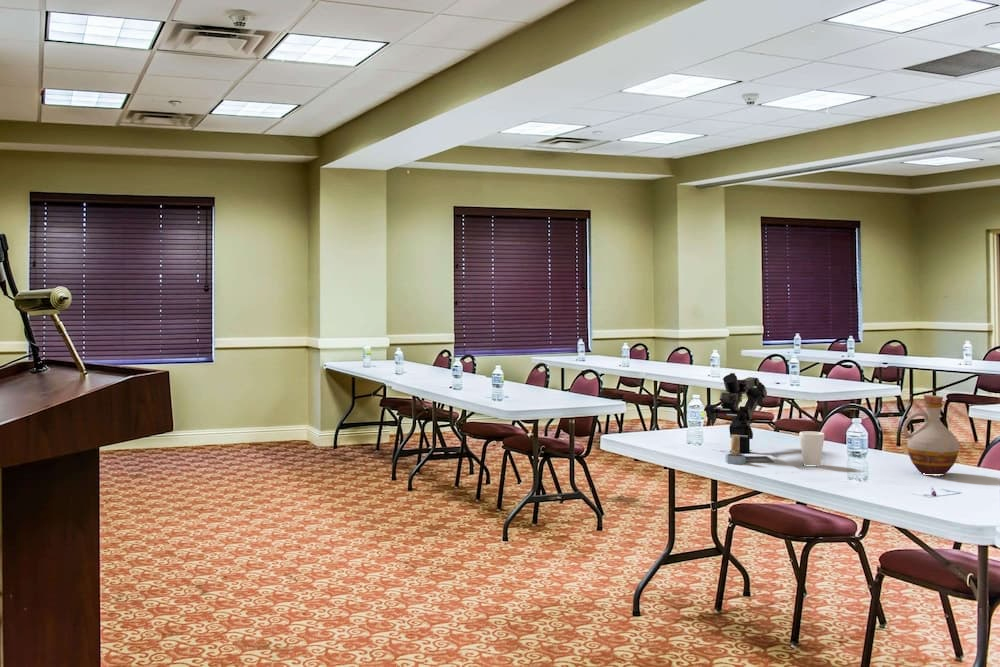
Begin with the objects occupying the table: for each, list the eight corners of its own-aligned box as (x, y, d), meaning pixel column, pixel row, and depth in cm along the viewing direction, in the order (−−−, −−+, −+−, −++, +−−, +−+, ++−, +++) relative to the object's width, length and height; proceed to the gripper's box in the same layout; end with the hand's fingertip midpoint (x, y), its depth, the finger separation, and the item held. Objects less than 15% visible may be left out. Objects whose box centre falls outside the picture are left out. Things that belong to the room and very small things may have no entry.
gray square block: (741, 463, 372) (741, 453, 372) (747, 466, 365) (747, 456, 365) (723, 463, 372) (723, 453, 372) (729, 466, 365) (729, 456, 365)
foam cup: (825, 464, 369) (825, 432, 368) (822, 468, 360) (823, 435, 360) (800, 462, 373) (800, 430, 372) (797, 466, 364) (798, 434, 364)
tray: (740, 460, 378) (740, 456, 378) (767, 460, 378) (767, 456, 378) (746, 465, 368) (746, 460, 368) (773, 464, 368) (773, 460, 368)
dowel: (738, 461, 370) (738, 434, 370) (740, 463, 367) (740, 435, 367) (730, 461, 370) (730, 434, 370) (732, 463, 367) (732, 436, 366)
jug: (906, 477, 340) (907, 397, 339) (897, 468, 358) (898, 392, 356) (964, 479, 336) (965, 398, 335) (952, 470, 353) (953, 393, 352)
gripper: (707, 385, 389) (696, 409, 379) (750, 387, 379) (740, 412, 369) (713, 405, 395) (702, 429, 384) (755, 407, 385) (746, 432, 374)
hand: (722, 425), depth 378 cm, fingers open, 9 cm apart
